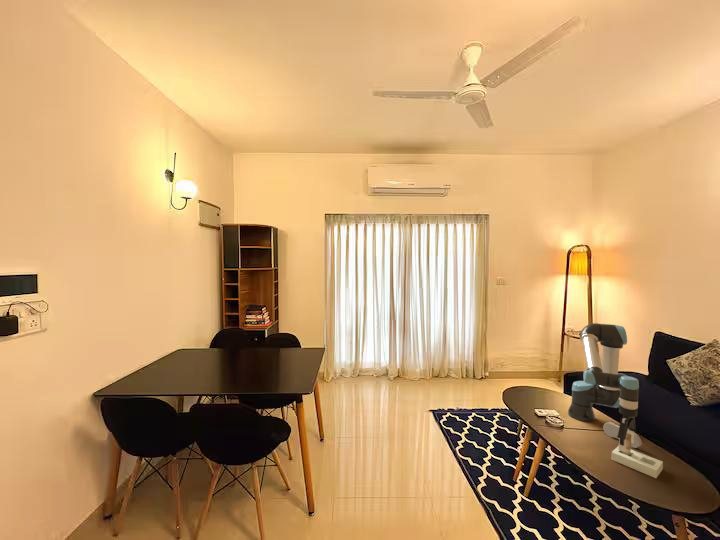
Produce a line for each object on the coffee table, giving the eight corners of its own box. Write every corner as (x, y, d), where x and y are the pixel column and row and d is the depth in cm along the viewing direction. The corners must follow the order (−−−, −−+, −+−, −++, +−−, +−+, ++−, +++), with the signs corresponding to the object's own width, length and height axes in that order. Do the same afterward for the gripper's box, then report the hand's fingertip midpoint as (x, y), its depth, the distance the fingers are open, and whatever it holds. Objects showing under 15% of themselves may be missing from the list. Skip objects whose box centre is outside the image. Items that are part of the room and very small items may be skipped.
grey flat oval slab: (641, 450, 183) (642, 435, 183) (639, 451, 182) (639, 436, 182) (605, 432, 201) (605, 419, 201) (602, 433, 200) (603, 419, 200)
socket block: (618, 452, 180) (619, 444, 180) (662, 469, 166) (662, 461, 166) (611, 459, 173) (611, 452, 173) (656, 478, 159) (656, 470, 159)
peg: (622, 457, 176) (623, 431, 175) (630, 460, 173) (632, 434, 172) (620, 459, 174) (621, 433, 173) (628, 462, 171) (630, 436, 170)
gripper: (627, 398, 183) (625, 436, 183) (611, 410, 168) (609, 450, 168) (644, 403, 176) (642, 442, 177) (629, 415, 162) (627, 458, 162)
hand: (626, 446), depth 173 cm, fingers open, 13 cm apart
